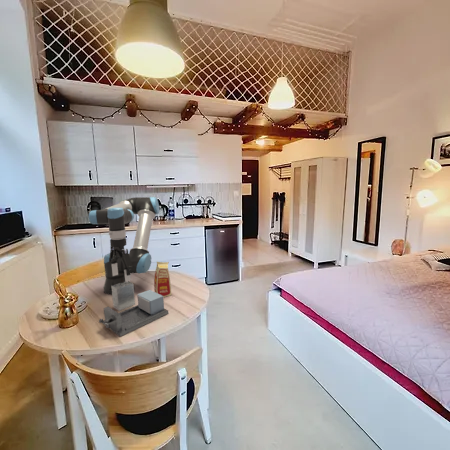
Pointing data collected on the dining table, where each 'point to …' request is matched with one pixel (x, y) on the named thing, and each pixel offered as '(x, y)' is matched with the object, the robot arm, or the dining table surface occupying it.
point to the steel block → (123, 295)
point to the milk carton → (162, 279)
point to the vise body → (128, 319)
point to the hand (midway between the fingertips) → (121, 278)
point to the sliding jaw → (150, 302)
